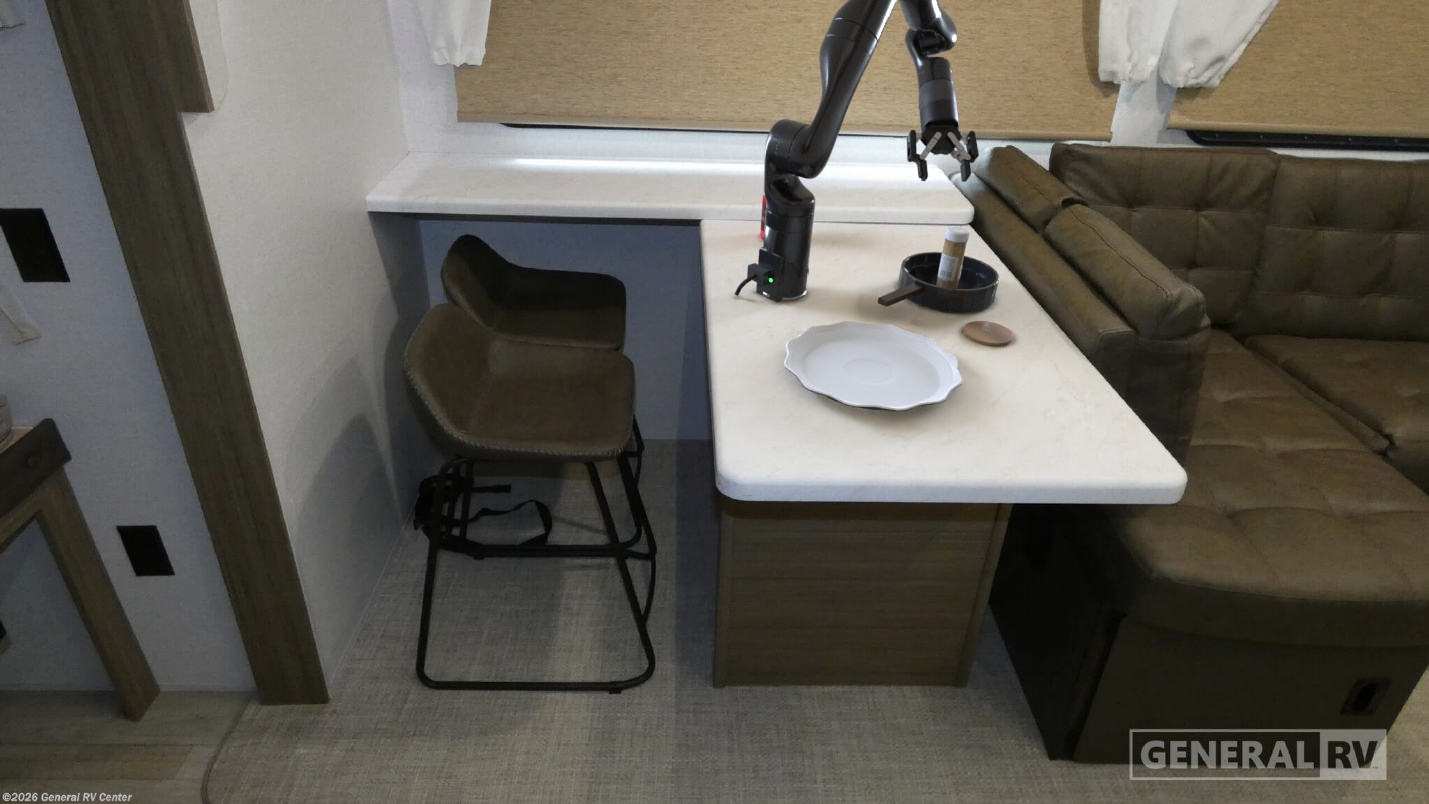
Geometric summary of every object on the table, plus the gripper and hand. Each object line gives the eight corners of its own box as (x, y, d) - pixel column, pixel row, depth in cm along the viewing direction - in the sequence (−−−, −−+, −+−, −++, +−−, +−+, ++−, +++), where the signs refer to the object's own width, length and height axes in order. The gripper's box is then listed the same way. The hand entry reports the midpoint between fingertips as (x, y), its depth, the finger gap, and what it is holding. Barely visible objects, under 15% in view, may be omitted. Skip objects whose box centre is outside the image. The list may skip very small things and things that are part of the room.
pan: (956, 322, 159) (962, 298, 156) (878, 288, 171) (882, 265, 168) (1012, 297, 170) (1018, 274, 167) (935, 266, 182) (939, 245, 179)
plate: (754, 347, 147) (755, 335, 146) (894, 323, 157) (896, 311, 156) (839, 436, 125) (841, 423, 123) (996, 401, 135) (999, 388, 134)
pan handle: (913, 288, 164) (914, 283, 163) (922, 292, 162) (923, 287, 161) (877, 303, 157) (878, 297, 157) (886, 307, 156) (887, 301, 155)
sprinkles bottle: (961, 294, 170) (975, 231, 162) (945, 298, 167) (959, 234, 160) (944, 285, 173) (957, 223, 166) (929, 290, 171) (941, 227, 163)
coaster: (994, 350, 150) (995, 348, 149) (953, 332, 155) (953, 329, 155) (1022, 336, 155) (1022, 334, 155) (980, 319, 160) (981, 316, 160)
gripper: (910, 97, 169) (917, 170, 165) (978, 98, 170) (986, 171, 166) (898, 117, 176) (905, 188, 172) (964, 118, 177) (972, 188, 174)
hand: (945, 179), depth 169 cm, fingers open, 8 cm apart
